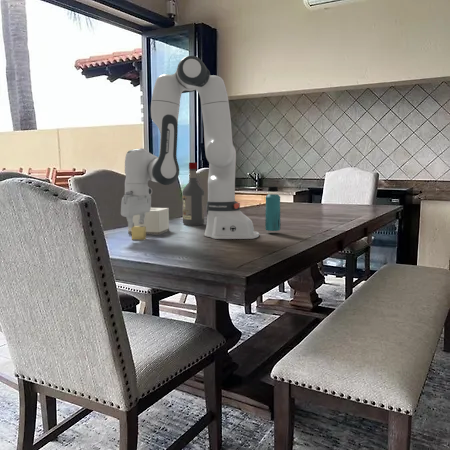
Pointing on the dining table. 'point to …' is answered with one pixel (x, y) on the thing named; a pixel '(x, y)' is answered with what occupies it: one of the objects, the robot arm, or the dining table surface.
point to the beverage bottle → (273, 210)
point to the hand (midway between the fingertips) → (136, 225)
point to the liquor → (193, 200)
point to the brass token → (138, 232)
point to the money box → (154, 221)
